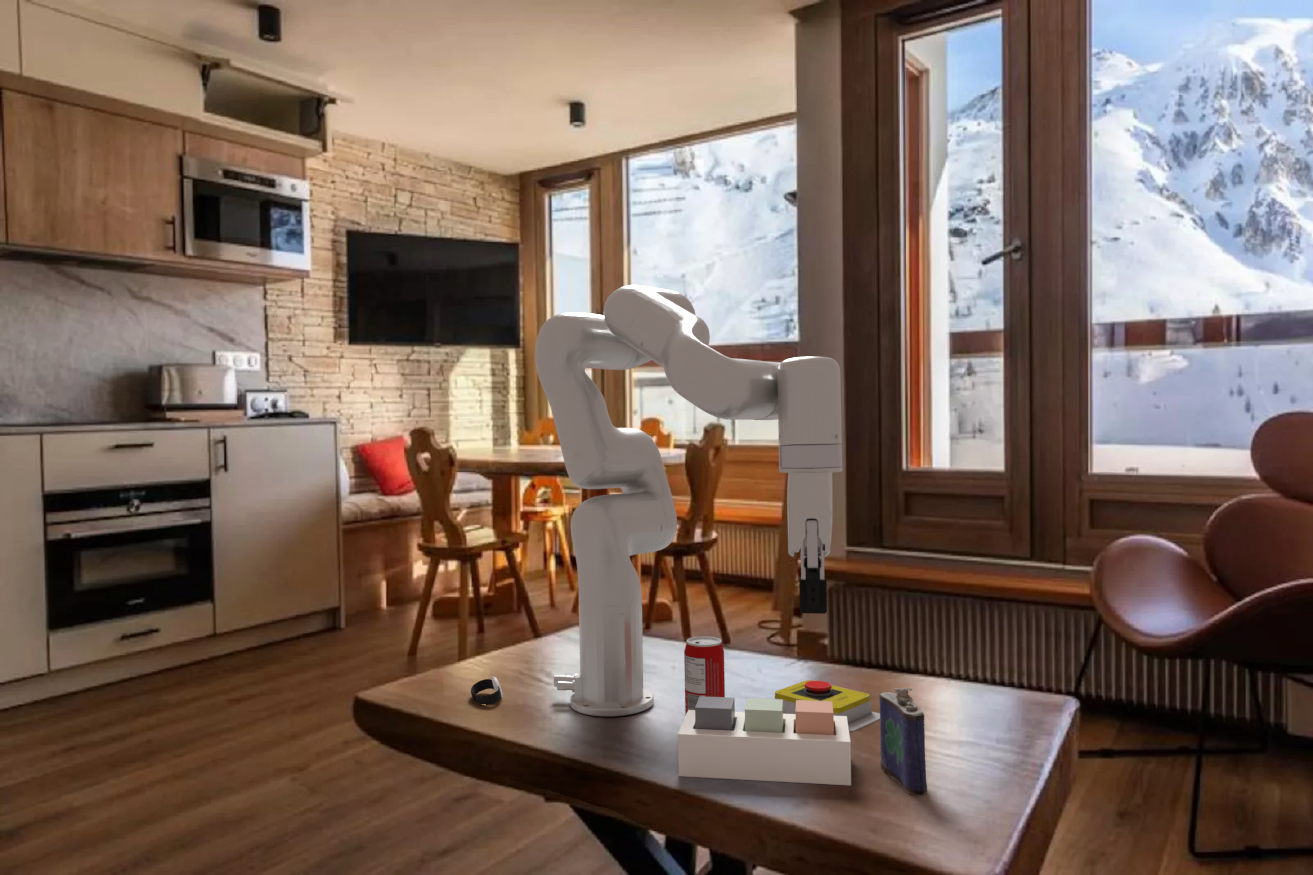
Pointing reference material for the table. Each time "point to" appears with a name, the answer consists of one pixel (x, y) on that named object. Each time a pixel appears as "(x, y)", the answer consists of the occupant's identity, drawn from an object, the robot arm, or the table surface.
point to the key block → (765, 753)
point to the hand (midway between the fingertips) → (813, 611)
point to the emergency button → (842, 700)
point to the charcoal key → (715, 713)
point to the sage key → (764, 715)
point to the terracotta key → (814, 717)
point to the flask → (903, 741)
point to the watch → (487, 685)
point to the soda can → (703, 670)
